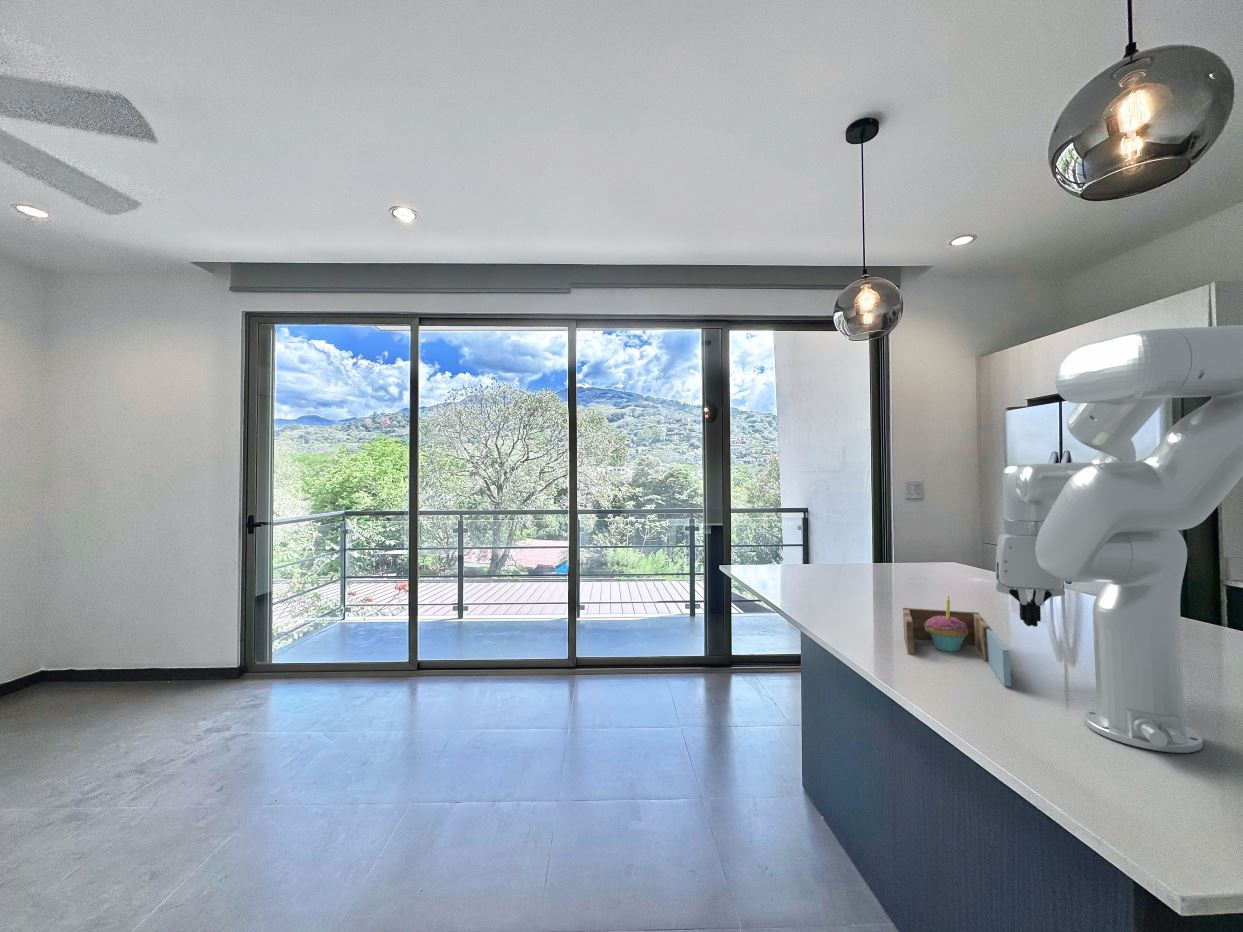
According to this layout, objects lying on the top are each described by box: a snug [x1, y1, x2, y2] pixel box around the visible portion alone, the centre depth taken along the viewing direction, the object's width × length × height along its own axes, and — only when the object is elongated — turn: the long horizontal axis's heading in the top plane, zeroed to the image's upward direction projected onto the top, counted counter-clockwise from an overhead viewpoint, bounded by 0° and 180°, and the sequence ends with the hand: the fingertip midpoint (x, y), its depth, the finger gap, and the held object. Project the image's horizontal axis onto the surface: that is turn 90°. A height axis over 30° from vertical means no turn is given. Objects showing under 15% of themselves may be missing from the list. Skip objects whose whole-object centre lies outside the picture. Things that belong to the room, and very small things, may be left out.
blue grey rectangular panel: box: [987, 628, 1012, 687], centre depth 107 cm, size 1×15×6 cm, turn 156°
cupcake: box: [924, 595, 968, 652], centre depth 124 cm, size 9×8×12 cm
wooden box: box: [902, 607, 991, 663], centre depth 124 cm, size 14×15×7 cm
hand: (1030, 624), depth 106 cm, fingers closed
